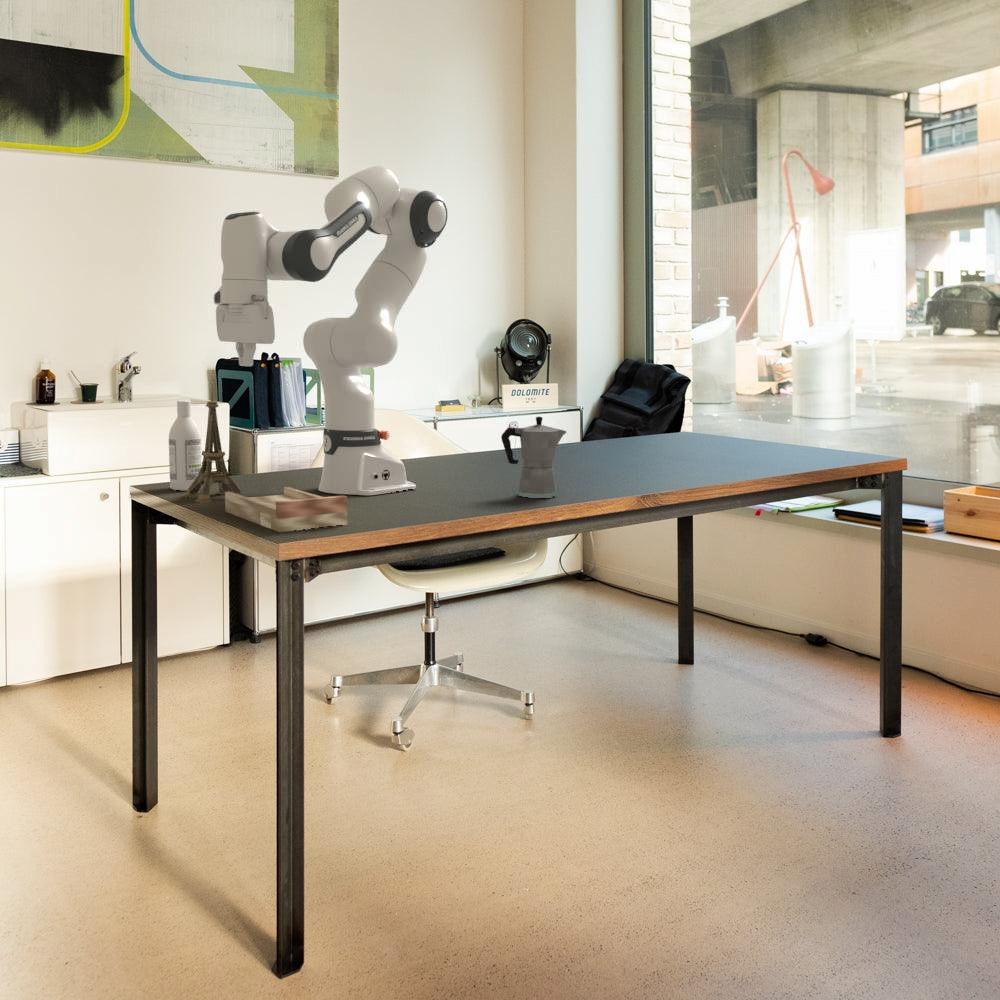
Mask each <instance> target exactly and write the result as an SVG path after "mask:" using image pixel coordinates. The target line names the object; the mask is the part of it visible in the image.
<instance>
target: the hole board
mask: <svg viewBox="0 0 1000 1000" xmlns="http://www.w3.org/2000/svg"><path fill="white" fill-rule="evenodd" d="M224 500H225V501H224V504H225V507H224V509H225V513H228V514H230V515H233V516H236V517H239V518H241V519H243V520H247V521H249V522H252V523H254V524H257V525H259V526H262V527H264V528H268V529H270V530H273V531H275V532H277V533H284V532H285V533H286V532H295V531H294V530H296V531H303V529H305V530H312V529H311V528H315V529H320V528H319V527H324V528H328V527H327V526H333V527H337V526H336V525H343V526H347V525H348V496H346V495H345V494H342V495H334V496H320V495H317V494H314V493H310V492H308V491H303V490H300V489H297V488H295V487H294V488H293V487H291V486H284V487H283V494H274V495H263V496H262V495H261V496H251V497H250V496H249V497H248V496H244V495H243V494H242V495H239V494H236V493H233V492H225V495H224Z"/></svg>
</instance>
